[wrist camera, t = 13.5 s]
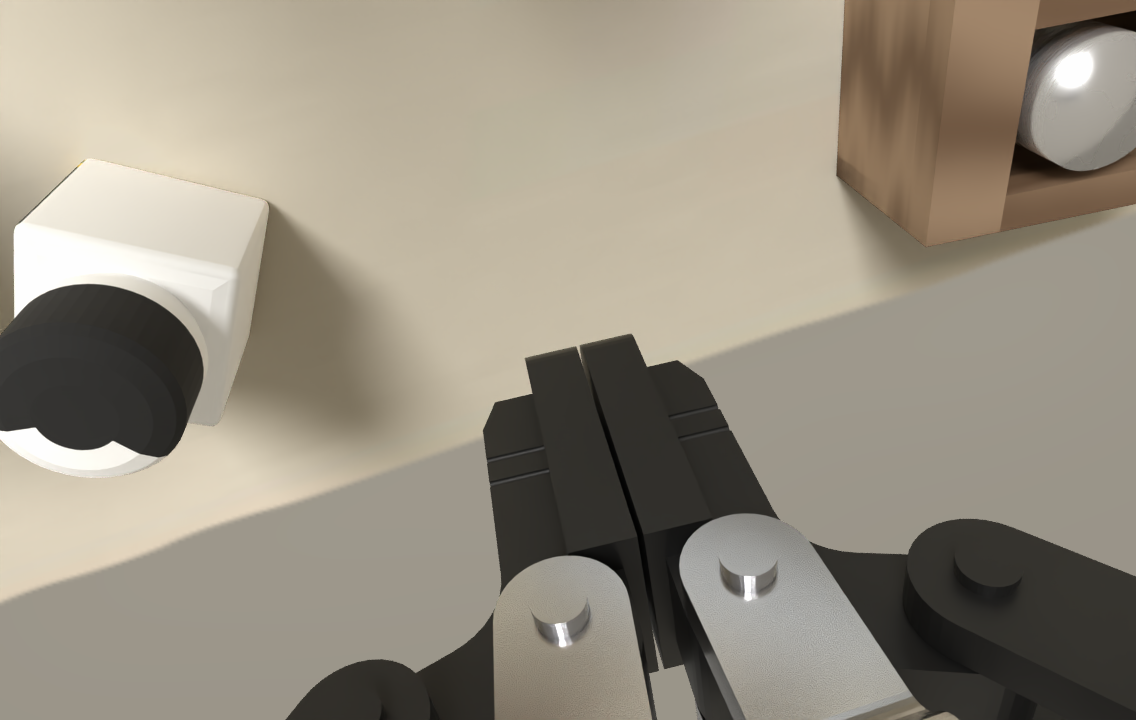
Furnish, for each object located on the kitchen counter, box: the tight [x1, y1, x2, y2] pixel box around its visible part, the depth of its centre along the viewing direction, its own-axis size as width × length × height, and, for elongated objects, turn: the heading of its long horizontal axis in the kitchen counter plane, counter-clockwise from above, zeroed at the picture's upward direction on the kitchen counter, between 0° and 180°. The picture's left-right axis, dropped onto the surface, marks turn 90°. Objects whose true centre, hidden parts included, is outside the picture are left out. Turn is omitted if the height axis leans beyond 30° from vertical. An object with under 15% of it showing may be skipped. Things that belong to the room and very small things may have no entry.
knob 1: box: [1015, 19, 1136, 171], centre depth 31 cm, size 5×5×5 cm
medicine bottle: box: [0, 158, 269, 478], centre depth 30 cm, size 7×7×12 cm
